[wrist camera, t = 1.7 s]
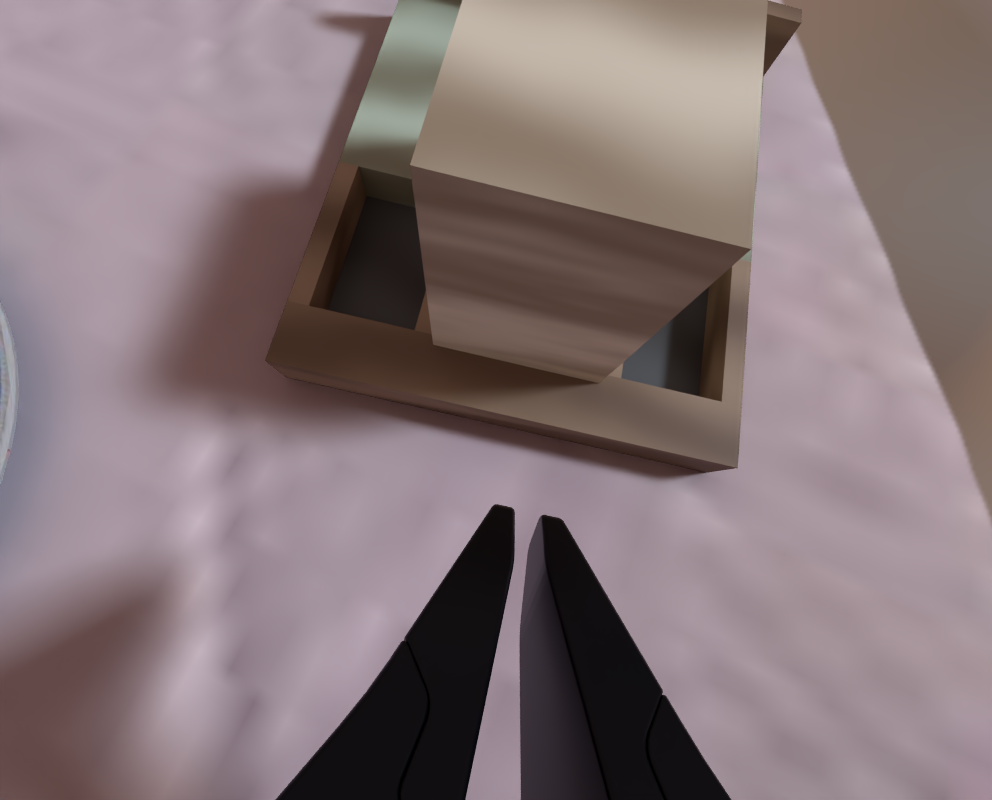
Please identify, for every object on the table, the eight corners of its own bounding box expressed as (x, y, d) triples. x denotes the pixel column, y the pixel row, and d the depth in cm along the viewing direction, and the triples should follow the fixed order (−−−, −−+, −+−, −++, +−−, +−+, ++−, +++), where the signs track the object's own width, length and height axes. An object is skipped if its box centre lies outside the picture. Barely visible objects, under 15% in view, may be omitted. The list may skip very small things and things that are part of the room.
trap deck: (707, 472, 23) (784, 460, 17) (285, 376, 22) (232, 334, 17) (738, 100, 29) (801, 9, 24) (413, 16, 28) (403, -97, 23)
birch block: (599, 383, 21) (751, 249, 10) (433, 344, 20) (410, 164, 10) (631, 176, 24) (774, -94, 13) (487, 140, 24) (514, -165, 13)
